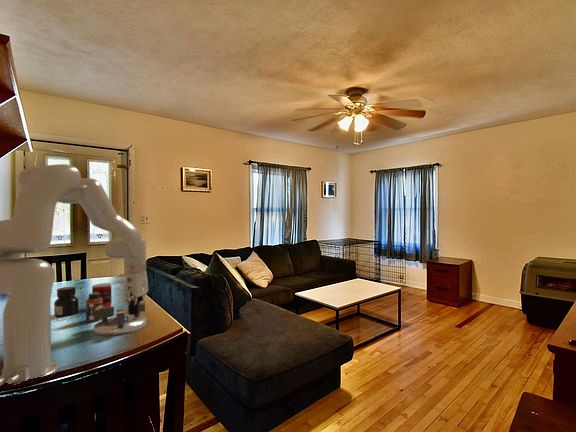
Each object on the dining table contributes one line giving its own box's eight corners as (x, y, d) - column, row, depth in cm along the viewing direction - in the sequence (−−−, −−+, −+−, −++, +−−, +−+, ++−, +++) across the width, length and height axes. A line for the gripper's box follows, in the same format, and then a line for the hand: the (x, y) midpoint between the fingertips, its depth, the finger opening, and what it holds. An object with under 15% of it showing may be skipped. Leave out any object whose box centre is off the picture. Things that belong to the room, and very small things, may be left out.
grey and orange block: (128, 318, 118) (128, 304, 118) (128, 316, 120) (128, 302, 120) (145, 315, 120) (144, 302, 120) (145, 314, 122) (144, 300, 123)
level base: (137, 333, 107) (137, 323, 107) (83, 338, 104) (83, 327, 104) (152, 317, 125) (152, 308, 125) (106, 321, 122) (106, 311, 122)
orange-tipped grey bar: (114, 320, 116) (113, 306, 116) (110, 322, 113) (109, 307, 113) (99, 320, 116) (98, 306, 116) (94, 322, 113) (94, 308, 113)
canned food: (94, 306, 145) (93, 284, 145) (112, 303, 149) (112, 282, 149) (91, 310, 138) (90, 287, 139) (110, 307, 142) (110, 285, 142)
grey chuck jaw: (117, 324, 111) (116, 309, 111) (124, 323, 112) (124, 308, 112) (116, 329, 106) (116, 313, 106) (124, 328, 107) (124, 312, 107)
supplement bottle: (94, 322, 120) (94, 295, 120) (82, 322, 121) (81, 295, 122) (106, 318, 126) (105, 291, 126) (94, 317, 127) (94, 291, 127)
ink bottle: (54, 314, 134) (54, 288, 134) (78, 310, 139) (77, 284, 140) (54, 319, 126) (53, 291, 126) (79, 314, 132) (78, 288, 132)
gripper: (134, 271, 112) (135, 319, 112) (154, 264, 129) (155, 306, 128) (114, 272, 112) (115, 319, 112) (137, 265, 129) (138, 306, 128)
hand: (136, 312), depth 120 cm, fingers closed on grey and orange block, 4 cm apart
